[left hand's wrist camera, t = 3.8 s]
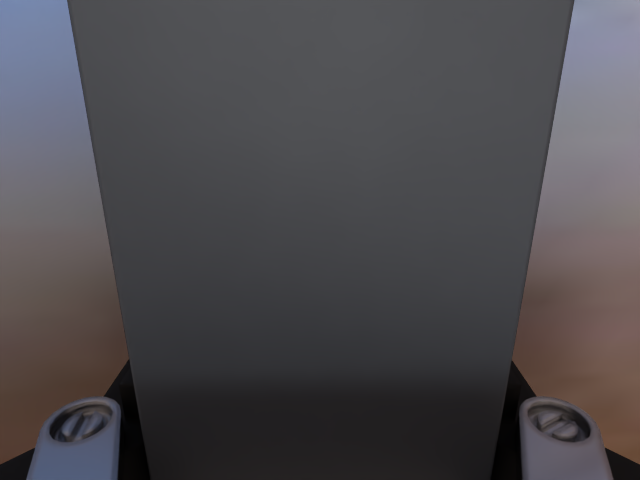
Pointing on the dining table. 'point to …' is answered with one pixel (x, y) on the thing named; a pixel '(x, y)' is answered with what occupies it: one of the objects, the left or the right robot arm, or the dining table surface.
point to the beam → (320, 224)
